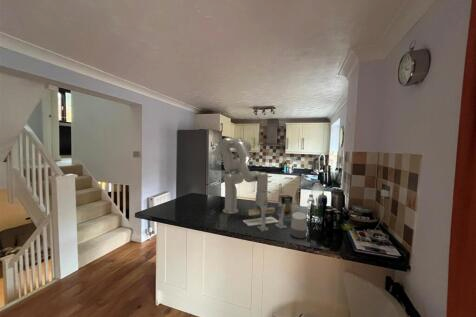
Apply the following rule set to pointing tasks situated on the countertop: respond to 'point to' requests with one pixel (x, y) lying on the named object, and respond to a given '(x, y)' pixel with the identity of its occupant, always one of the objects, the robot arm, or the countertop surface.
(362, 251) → the countertop surface
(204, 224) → the countertop surface
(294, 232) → the smart speaker
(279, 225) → the metal standards
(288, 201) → the coffee box
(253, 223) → the grey mat
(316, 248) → the countertop surface
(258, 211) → the beech rail
